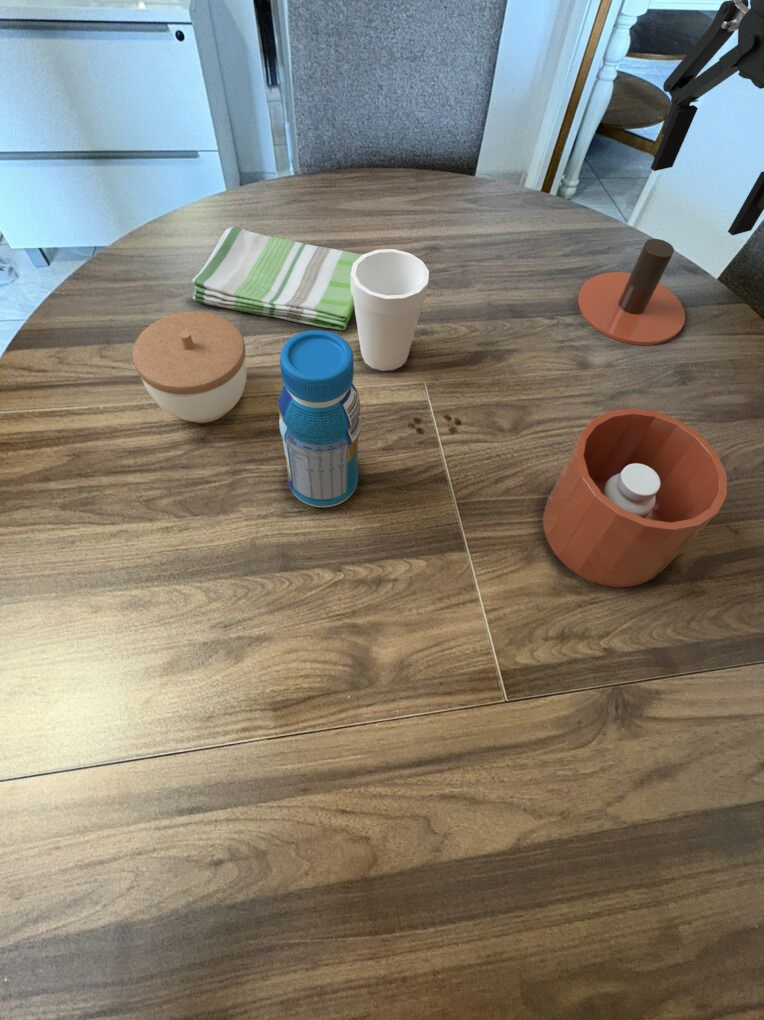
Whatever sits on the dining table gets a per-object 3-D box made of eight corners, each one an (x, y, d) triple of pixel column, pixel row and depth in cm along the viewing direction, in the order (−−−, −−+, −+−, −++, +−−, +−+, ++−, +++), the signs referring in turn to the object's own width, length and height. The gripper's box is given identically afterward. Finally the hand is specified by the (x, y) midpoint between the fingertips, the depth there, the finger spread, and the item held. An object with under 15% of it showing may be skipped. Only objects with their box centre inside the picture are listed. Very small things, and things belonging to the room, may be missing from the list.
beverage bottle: (310, 522, 69) (298, 400, 52) (274, 471, 73) (253, 341, 56) (372, 490, 72) (381, 365, 55) (335, 442, 76) (332, 310, 59)
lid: (640, 269, 97) (670, 205, 88) (703, 333, 90) (742, 270, 81) (557, 290, 94) (579, 225, 85) (615, 359, 86) (646, 295, 77)
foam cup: (395, 389, 81) (403, 309, 70) (337, 361, 83) (335, 279, 72) (430, 348, 85) (442, 266, 75) (374, 322, 88) (378, 239, 77)
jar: (621, 463, 76) (665, 393, 66) (696, 562, 69) (759, 501, 58) (519, 498, 72) (548, 430, 62) (587, 606, 65) (634, 550, 55)
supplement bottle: (578, 536, 69) (608, 488, 61) (589, 500, 72) (619, 450, 64) (625, 554, 68) (662, 508, 60) (634, 517, 71) (671, 468, 63)
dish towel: (231, 236, 97) (227, 215, 94) (373, 261, 95) (374, 240, 92) (190, 306, 88) (185, 285, 85) (347, 335, 86) (347, 315, 83)
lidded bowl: (187, 355, 82) (166, 285, 73) (271, 383, 80) (261, 315, 71) (133, 420, 76) (103, 353, 67) (223, 453, 74) (205, 388, 65)
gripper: (687, -85, 57) (608, 149, 75) (905, 21, 46) (749, 269, 63) (748, -91, 59) (656, 139, 77) (973, 9, 47) (803, 253, 65)
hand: (698, 198), depth 70 cm, fingers open, 13 cm apart
